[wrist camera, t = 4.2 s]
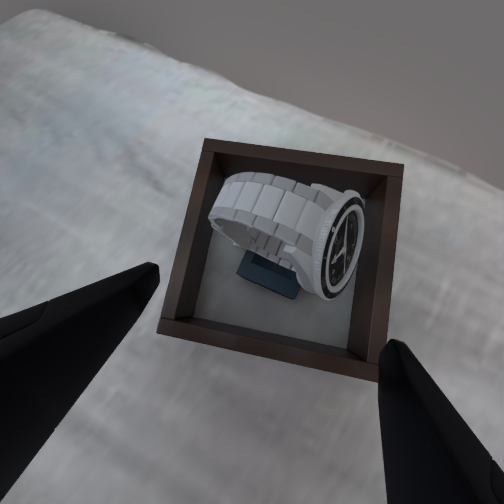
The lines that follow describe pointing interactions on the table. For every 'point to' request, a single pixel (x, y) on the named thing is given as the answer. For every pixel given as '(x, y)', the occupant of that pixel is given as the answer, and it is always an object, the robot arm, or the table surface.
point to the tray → (368, 270)
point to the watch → (291, 232)
